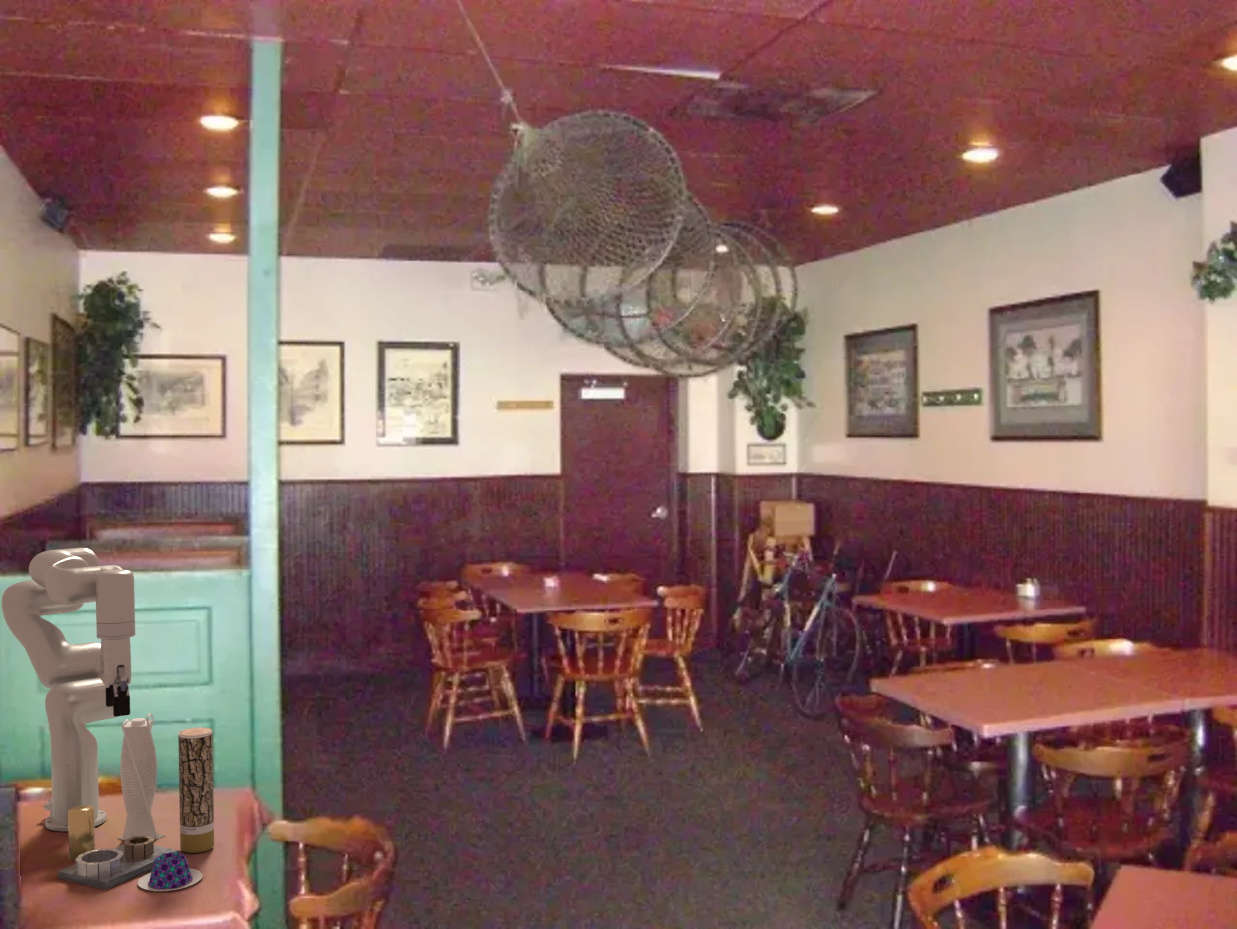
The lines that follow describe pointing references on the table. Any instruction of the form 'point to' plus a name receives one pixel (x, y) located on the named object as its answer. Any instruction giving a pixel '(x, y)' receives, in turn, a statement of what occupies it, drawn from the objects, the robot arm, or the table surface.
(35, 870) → the table surface
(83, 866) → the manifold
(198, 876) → the pudding
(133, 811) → the skyscraper
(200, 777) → the paper tube
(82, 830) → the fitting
